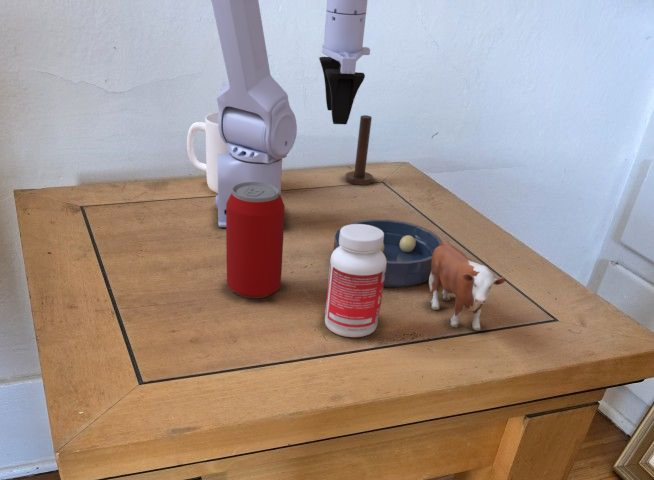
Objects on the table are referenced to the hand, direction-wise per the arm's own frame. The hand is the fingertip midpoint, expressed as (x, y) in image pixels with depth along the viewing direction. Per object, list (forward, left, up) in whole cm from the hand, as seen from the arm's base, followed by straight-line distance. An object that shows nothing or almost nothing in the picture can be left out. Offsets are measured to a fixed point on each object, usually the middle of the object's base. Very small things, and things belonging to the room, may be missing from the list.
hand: (336, 116), depth 109 cm
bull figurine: (+10, -45, -11) cm, 47 cm away
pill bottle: (-3, -47, -11) cm, 48 cm away
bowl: (+4, -30, -10) cm, 32 cm away
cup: (-18, -1, -11) cm, 21 cm away
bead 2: (+7, -27, -9) cm, 30 cm away
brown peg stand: (+5, +3, -10) cm, 12 cm away
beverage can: (-14, -38, -11) cm, 42 cm away
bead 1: (+3, -29, -9) cm, 30 cm away
